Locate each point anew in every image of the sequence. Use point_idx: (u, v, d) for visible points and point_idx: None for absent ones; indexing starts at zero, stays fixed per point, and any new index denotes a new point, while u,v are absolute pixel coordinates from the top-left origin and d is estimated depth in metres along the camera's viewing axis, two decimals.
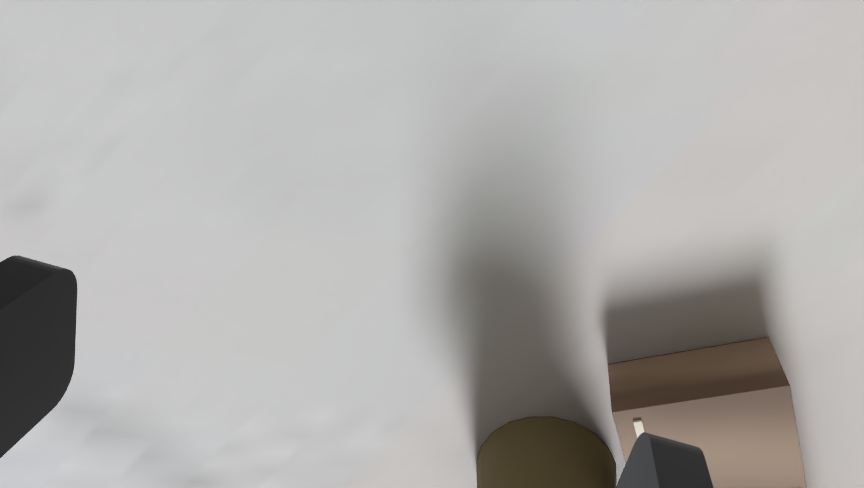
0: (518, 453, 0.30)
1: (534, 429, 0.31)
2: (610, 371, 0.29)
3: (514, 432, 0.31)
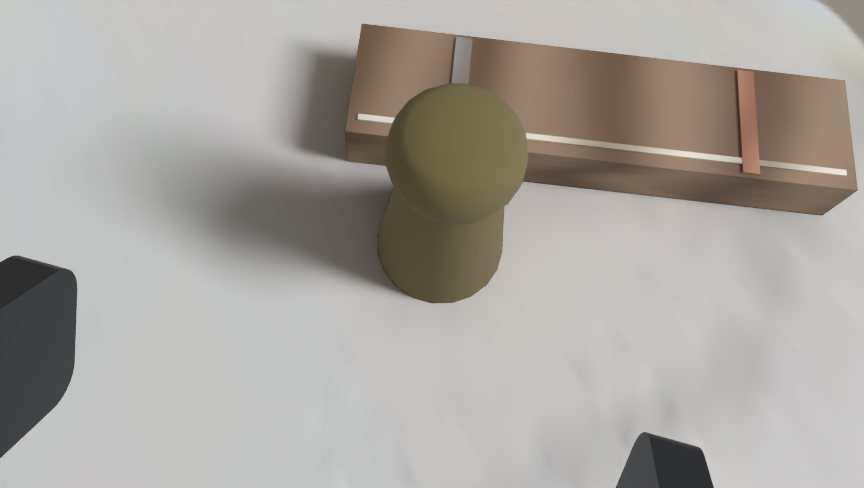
0: (382, 229, 0.34)
1: None
2: (347, 155, 0.37)
3: (379, 242, 0.35)
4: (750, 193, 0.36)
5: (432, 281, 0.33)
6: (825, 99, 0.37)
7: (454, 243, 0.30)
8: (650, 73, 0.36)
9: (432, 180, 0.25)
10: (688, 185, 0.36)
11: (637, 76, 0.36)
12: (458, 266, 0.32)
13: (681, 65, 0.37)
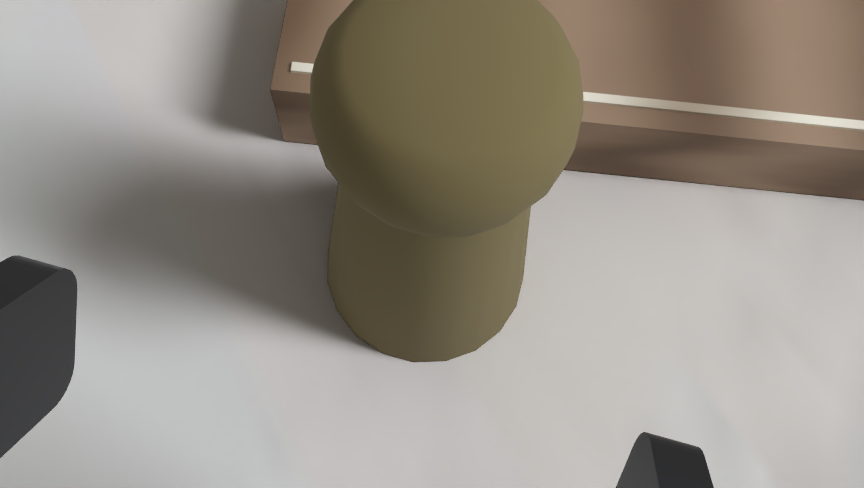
0: None
1: None
2: (282, 131, 0.24)
3: (328, 266, 0.22)
4: None
5: (411, 330, 0.20)
6: None
7: (444, 270, 0.17)
8: None
9: (396, 147, 0.12)
10: (812, 170, 0.23)
11: (728, 4, 0.23)
12: (454, 308, 0.19)
13: None
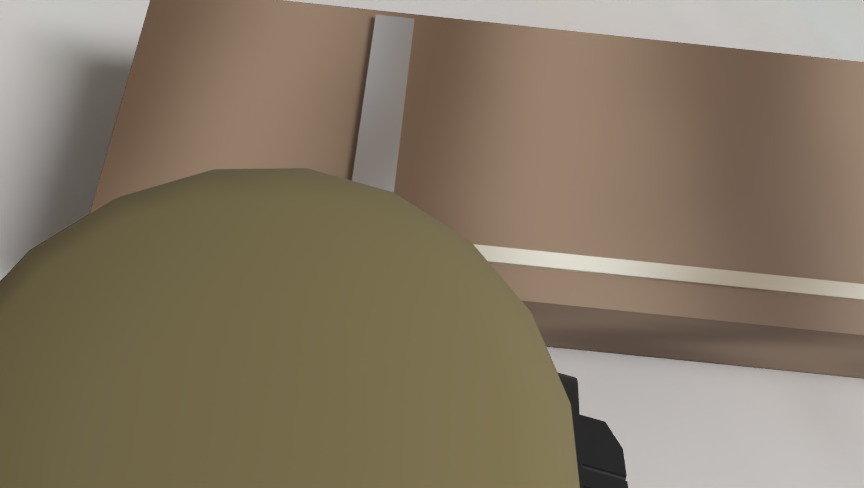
0: None
1: None
2: None
3: None
4: None
5: None
6: None
7: None
8: (837, 95, 0.15)
9: None
10: None
11: (806, 104, 0.15)
12: None
13: None
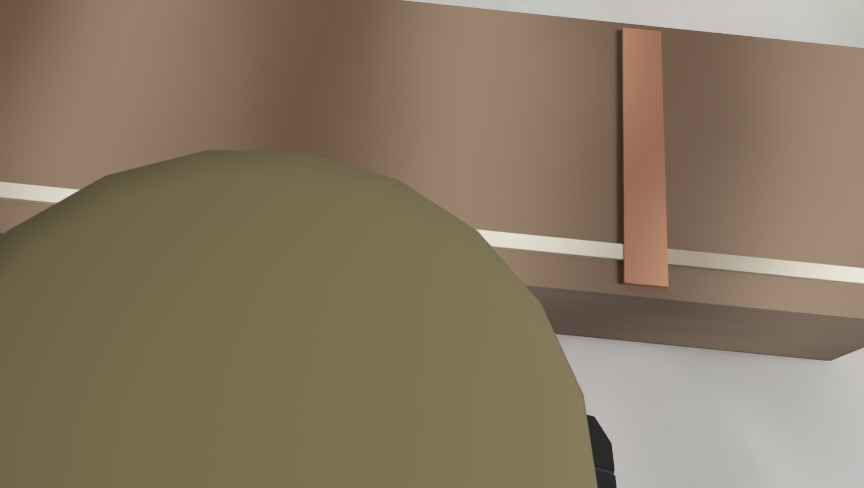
0: None
1: None
2: None
3: None
4: (654, 322, 0.15)
5: None
6: (832, 94, 0.15)
7: None
8: (414, 38, 0.15)
9: None
10: None
11: (380, 46, 0.15)
12: None
13: (489, 20, 0.16)
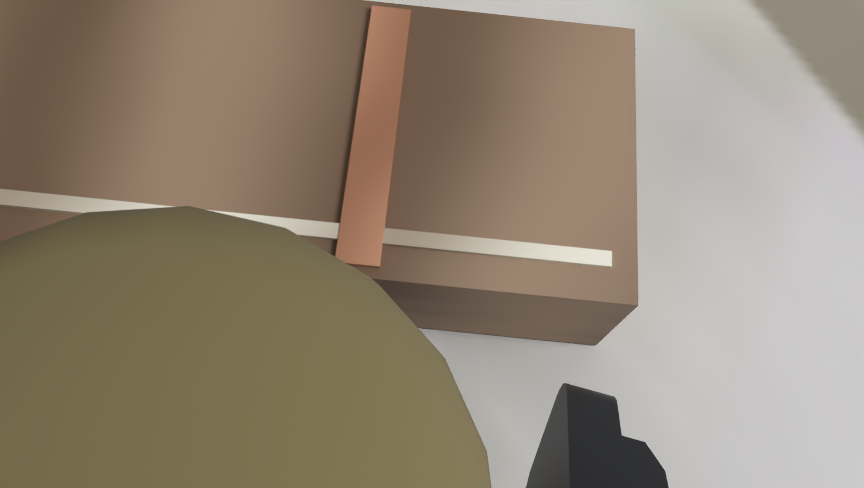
0: None
1: None
2: None
3: None
4: None
5: None
6: (581, 73, 0.15)
7: None
8: (157, 15, 0.15)
9: None
10: None
11: (120, 24, 0.15)
12: None
13: None
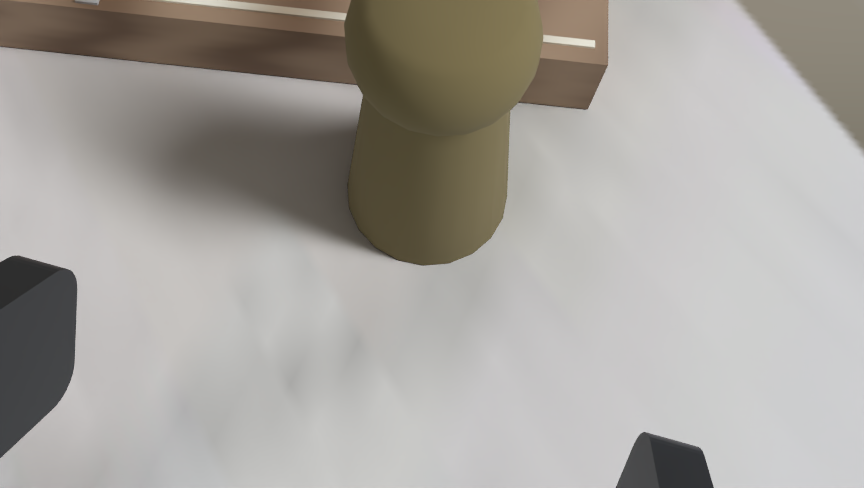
0: (352, 174, 0.26)
1: None
2: None
3: (349, 193, 0.27)
4: None
5: (421, 233, 0.25)
6: None
7: (447, 170, 0.22)
8: None
9: (412, 63, 0.18)
10: None
11: None
12: (455, 208, 0.24)
13: None
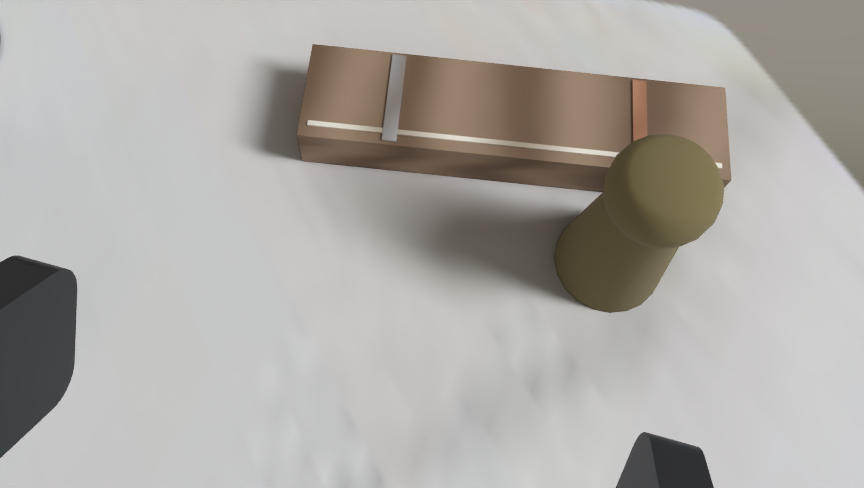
0: (567, 254, 0.40)
1: (559, 250, 0.42)
2: (301, 155, 0.43)
3: (560, 265, 0.41)
4: None
5: (618, 294, 0.39)
6: (707, 104, 0.43)
7: (651, 262, 0.36)
8: (558, 83, 0.43)
9: (659, 215, 0.32)
10: (590, 178, 0.42)
11: (546, 86, 0.43)
12: (645, 281, 0.38)
13: (584, 76, 0.43)
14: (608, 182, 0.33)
